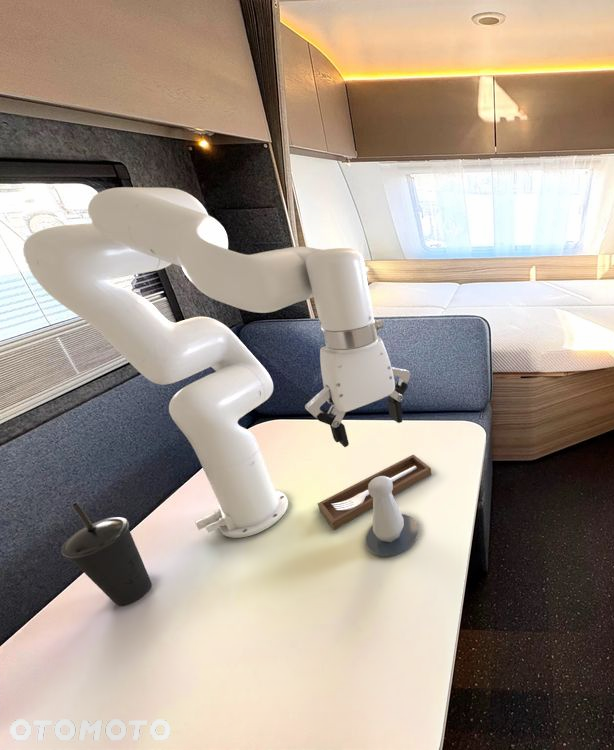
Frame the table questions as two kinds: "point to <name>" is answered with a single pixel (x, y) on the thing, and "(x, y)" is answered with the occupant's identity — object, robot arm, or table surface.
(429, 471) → the cutlery tray
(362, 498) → the fork
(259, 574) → the table surface
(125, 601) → the drinking cup
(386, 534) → the salt shaker
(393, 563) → the table surface
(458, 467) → the table surface
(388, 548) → the coaster
